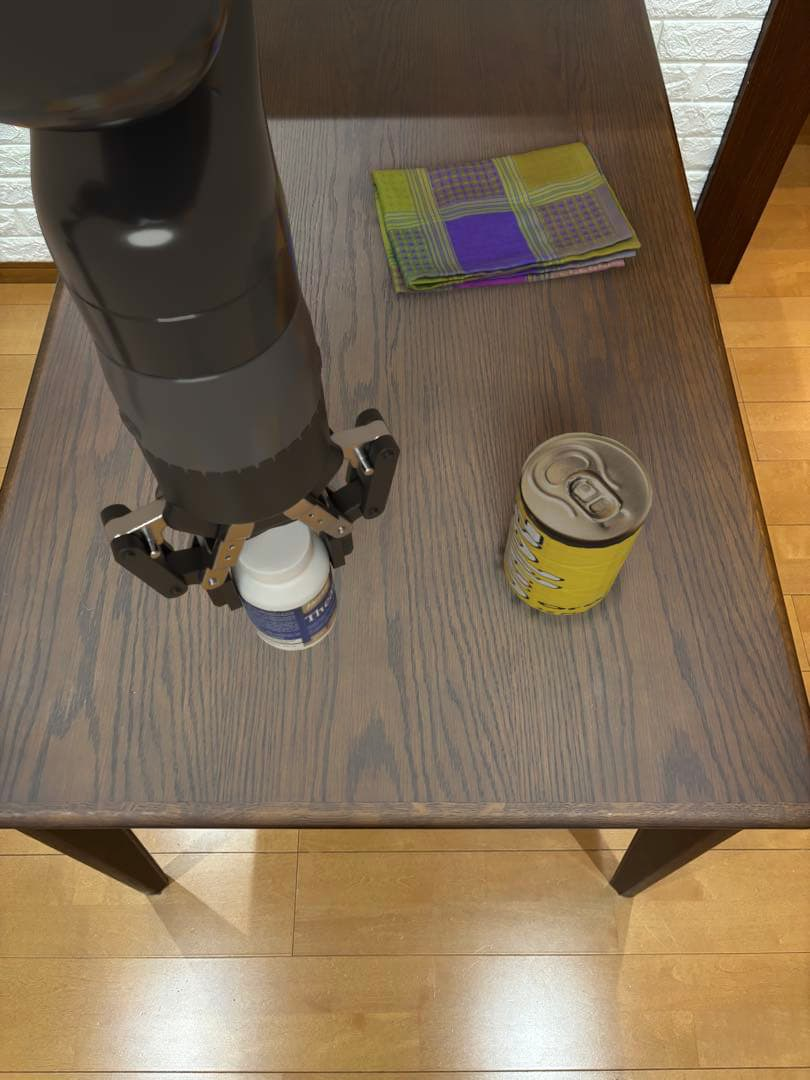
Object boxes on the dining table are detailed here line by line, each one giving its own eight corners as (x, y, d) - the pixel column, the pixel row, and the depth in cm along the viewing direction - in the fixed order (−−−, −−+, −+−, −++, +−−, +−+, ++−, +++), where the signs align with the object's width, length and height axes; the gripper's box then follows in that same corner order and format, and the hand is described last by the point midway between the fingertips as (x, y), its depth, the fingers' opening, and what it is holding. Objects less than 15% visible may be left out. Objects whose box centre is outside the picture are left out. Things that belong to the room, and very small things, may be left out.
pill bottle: (328, 659, 49) (311, 593, 41) (241, 645, 50) (206, 577, 41) (346, 579, 52) (334, 501, 43) (264, 566, 52) (235, 486, 44)
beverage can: (558, 495, 69) (583, 410, 59) (638, 568, 66) (680, 492, 56) (480, 558, 67) (491, 481, 56) (559, 637, 64) (587, 571, 53)
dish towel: (368, 181, 87) (367, 159, 85) (591, 152, 89) (596, 129, 87) (396, 304, 79) (395, 283, 77) (640, 269, 81) (647, 248, 79)
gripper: (357, 259, 34) (373, 476, 49) (9, 375, 31) (139, 568, 46) (436, 391, 31) (427, 580, 46) (56, 533, 28) (179, 685, 43)
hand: (282, 573), depth 46 cm, fingers closed on pill bottle, 5 cm apart
